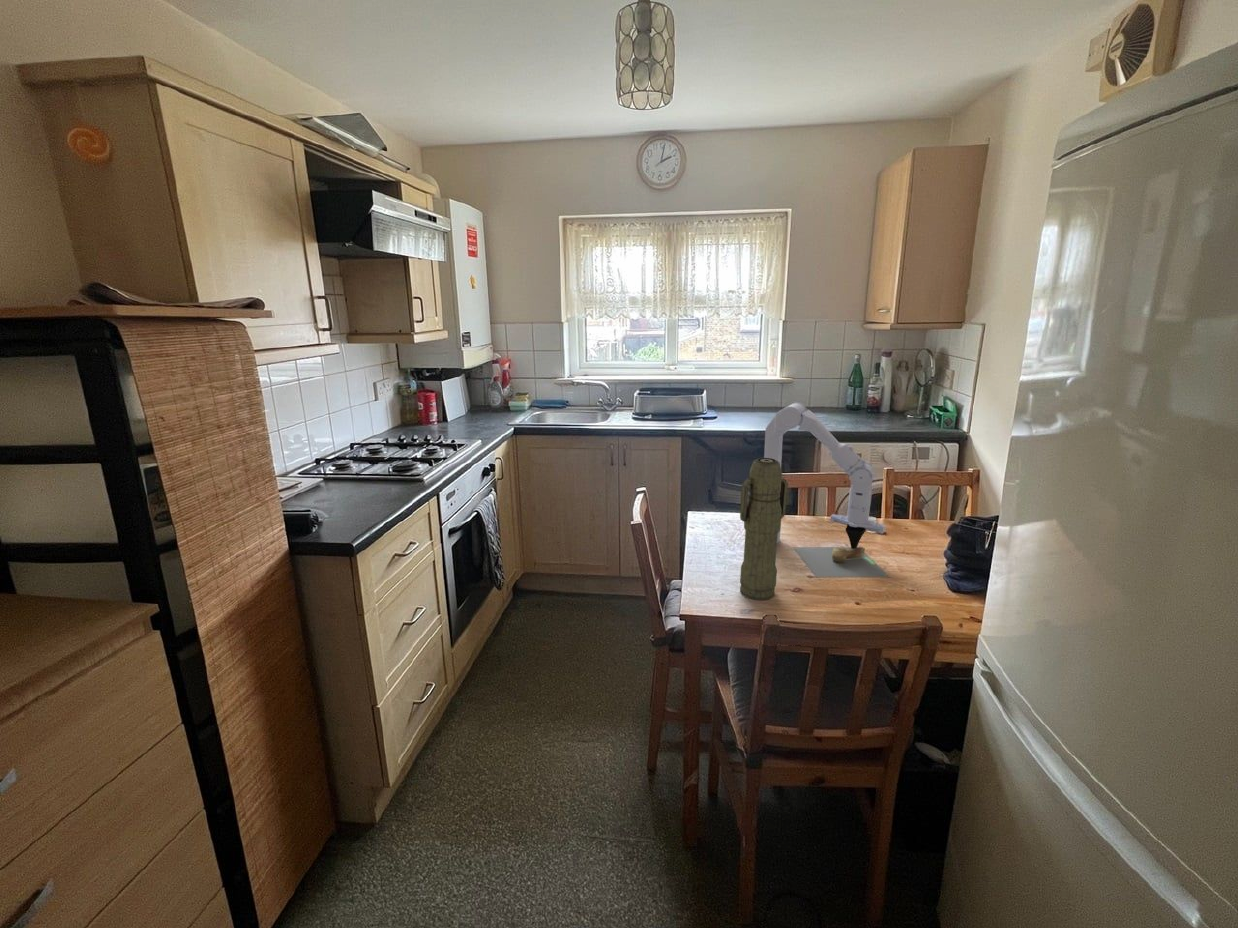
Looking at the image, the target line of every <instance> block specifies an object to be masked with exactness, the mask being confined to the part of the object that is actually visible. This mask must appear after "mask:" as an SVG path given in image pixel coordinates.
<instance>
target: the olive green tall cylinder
mask: <svg viewBox="0 0 1238 928" xmlns="http://www.w3.org/2000/svg"><path fill="white" fill-rule="evenodd" d="M788 484H789V483H788V482H787V480H786V479H785V478H784V477H783V473H782V466H781V467H780V463H779V462H778V461H777V460H775V459H772V458H764V457H760V458H758V457H757V459H754V460H753V461H752V464H751V467H750V470H749V477H747V479H745V480H744V481H743V483H741V493H740V508H739V511H740V512H739V517H740V519H739V520H740V521H741V522H743V528H744V531H745V532H744V533H745V534H744V549H743V561H742V563H741V565H740V574H739V575H740V576H739V577H740V578H739V579H740V580H739V583H740V587H739V589H740V590H739V592H740V593H741V595H742V596H744V597H745V598H748V599H751V600H754V601H767V600H771V599H773V598H774V596H775V588H776V586H777V577H778V574H777V573H778V570H777V569H778V568H777V566H776V563H777V562H776V559H777V547H778V543H777V537H778V532H779V531H780V525H781V526H782V519H783V517H785V516H786V513H787V511H786V510H787V501H788V500H787V498H788V488H789V487H788V486H789V485H788ZM779 494H780V497H779ZM781 518H782V519H781ZM780 532H781V531H780Z"/></svg>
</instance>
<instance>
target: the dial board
mask: <svg viewBox="0 0 1238 928" xmlns="http://www.w3.org/2000/svg"><path fill="white" fill-rule="evenodd" d="M835 547H836V546H793V547H792V548H793V550H794V551H795V553H797V556H799V557H800V559H801V560H802V561H803V563H804V564H805V565H806V567H807V568H808V569H809V571H810V572H811V573H812V574H813V575H814V577H815V578H890V577H891V576H890V575H889V574H888V573H887V572H886V571H884V569H883V568H882V567H881V566H880V565H878V564H877V563H876V562H875V561H874V560H873V559H872V558H871V557H870V555H868V554H867V553H866V551H864V557H860V558H853V559H846V561H845V562H836V561H834V560H833V559H832V556H833V548H835ZM840 547H841V548H844V549H851V546H840ZM858 547H859V546H857V548H858Z"/></svg>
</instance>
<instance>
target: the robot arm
mask: <svg viewBox="0 0 1238 928" xmlns="http://www.w3.org/2000/svg"><path fill="white" fill-rule="evenodd" d="M797 427H798V428H797ZM794 428H797V429H798V431H803V432H809V433H811V435H813V436H814V437H815V438H816V439H817V440H818V441H819V442H820V443H821V444H822V445H824V446H825V447H826V448H827V449H828V450H829V451H830V459H832V460H833V462H835V464H836V465H837V466H838V467H839V468H840V469H841V470H842V471H843V472H844V473H845V474H846V475H848V476H849V477H848V478H849V481H850V489H849V494H848V495H849V496H848V504H847V512H846V515H840V514H835V513H834V514H833V513H832V514H831V515H830V520H829V521H830V523H832V524H833V523H836V524H841V525H846V527H845V532H846V535H847V536H848V539H849V543H850V547H851V548H857V547H859V542H860V541H861V539H862V537H863V535H864V534H865V533H866V532H867V531H871V532H874V531H876V532H879V533H878V534H881V535H883V534H884V533H885V532H886V525H885V524H882V523H877V522H876V523H875V522H872V521H870V520H868V519H869V517H870V509H871V503H872V496H873V495H872V494H873V491H872V489H873V481H874V478H875V474H876V471H875V468H874V467H873V465H872V464H871V463H869V462H867V460H866V459H865V458H864V459H863V458H862V457H860V456H859V454H857V453H856V452H855V451H854V450H855V448H854V446H853V445H852V444H851V445H848V444H847V443H843V442H840V441H838V440H837V438H836V437H835V436H834V435H833V434H832V433H831V432H830V431H829V430H828V429H827V427H825V425H824V424H823V423H822V422H821V421H820V420H819V419H818V417H817V416H816V415H815V414H814V412H812V411H811V410H810V409H808V408H807V407H806V406H805V405H804V404H803V403H801V402H793V403H791V404H789V405H788V406H785V407H784V408H782V409H780V410H779V411H777V412H776V413H775V414H774V416H773V417H772V419H771V421H770V422H769V424H768V425H767V426H766V427H765V431H764V452H763V453H764V455H763V458H772V459H775V460H777V461H778V462H779V463H780V467H781V468H782V461H783V460H782V458H783V438H784V435H785V434H786V433H787V432H788V431H790V430H792V429H794ZM779 497H780V494H779ZM782 519H783V518H781V520H782ZM781 528H782V524H781V525H780V531H779V532H778V537H777V544H778V543H780V542H781V531H782V530H781ZM884 531H885V532H884Z"/></svg>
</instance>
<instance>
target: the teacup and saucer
mask: <svg viewBox="0 0 1238 928" xmlns="http://www.w3.org/2000/svg"><path fill="white" fill-rule="evenodd" d="M868 520H870V521H872V522H875V523H877V517H874V516H869V519H868ZM867 532H868V533H870V534H871V533H872V534H876V533H877V534H880V533H879V532H876V531H872V530H867ZM885 532H886V530H885V531H884V533H885Z"/></svg>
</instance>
